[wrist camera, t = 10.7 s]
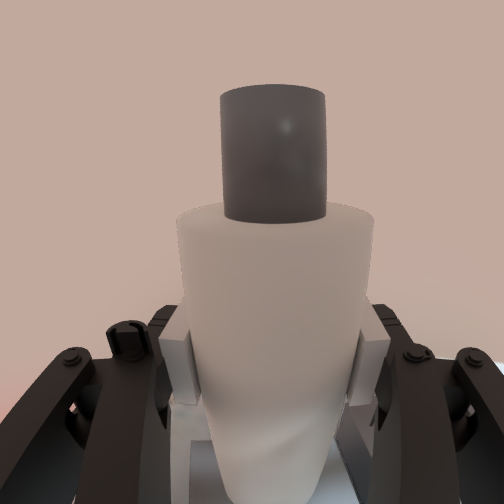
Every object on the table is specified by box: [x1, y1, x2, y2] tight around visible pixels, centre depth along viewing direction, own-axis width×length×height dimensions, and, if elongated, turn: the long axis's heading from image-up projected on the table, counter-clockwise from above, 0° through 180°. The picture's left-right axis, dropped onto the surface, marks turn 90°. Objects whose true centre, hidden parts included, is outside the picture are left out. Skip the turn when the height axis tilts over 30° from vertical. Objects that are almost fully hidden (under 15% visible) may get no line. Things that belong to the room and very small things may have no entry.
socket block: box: [336, 396, 475, 504], centre depth 15 cm, size 12×12×5 cm
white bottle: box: [176, 84, 374, 504], centre depth 9 cm, size 5×5×17 cm
